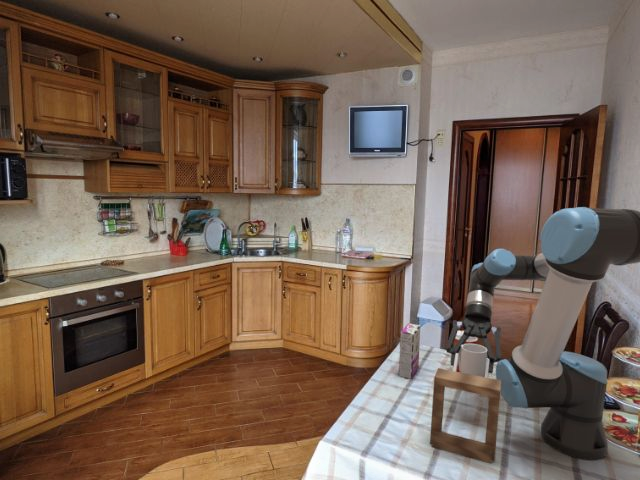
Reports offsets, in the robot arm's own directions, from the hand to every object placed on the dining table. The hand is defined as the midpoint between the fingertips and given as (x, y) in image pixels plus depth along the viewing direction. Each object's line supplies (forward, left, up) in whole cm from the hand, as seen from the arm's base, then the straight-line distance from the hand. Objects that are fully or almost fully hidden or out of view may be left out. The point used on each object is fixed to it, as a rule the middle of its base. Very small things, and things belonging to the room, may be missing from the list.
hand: (469, 379), depth 117 cm
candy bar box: (+22, -26, -13) cm, 37 cm away
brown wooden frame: (0, +12, -13) cm, 18 cm away
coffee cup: (+5, -34, -13) cm, 37 cm away
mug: (0, -4, -4) cm, 5 cm away
